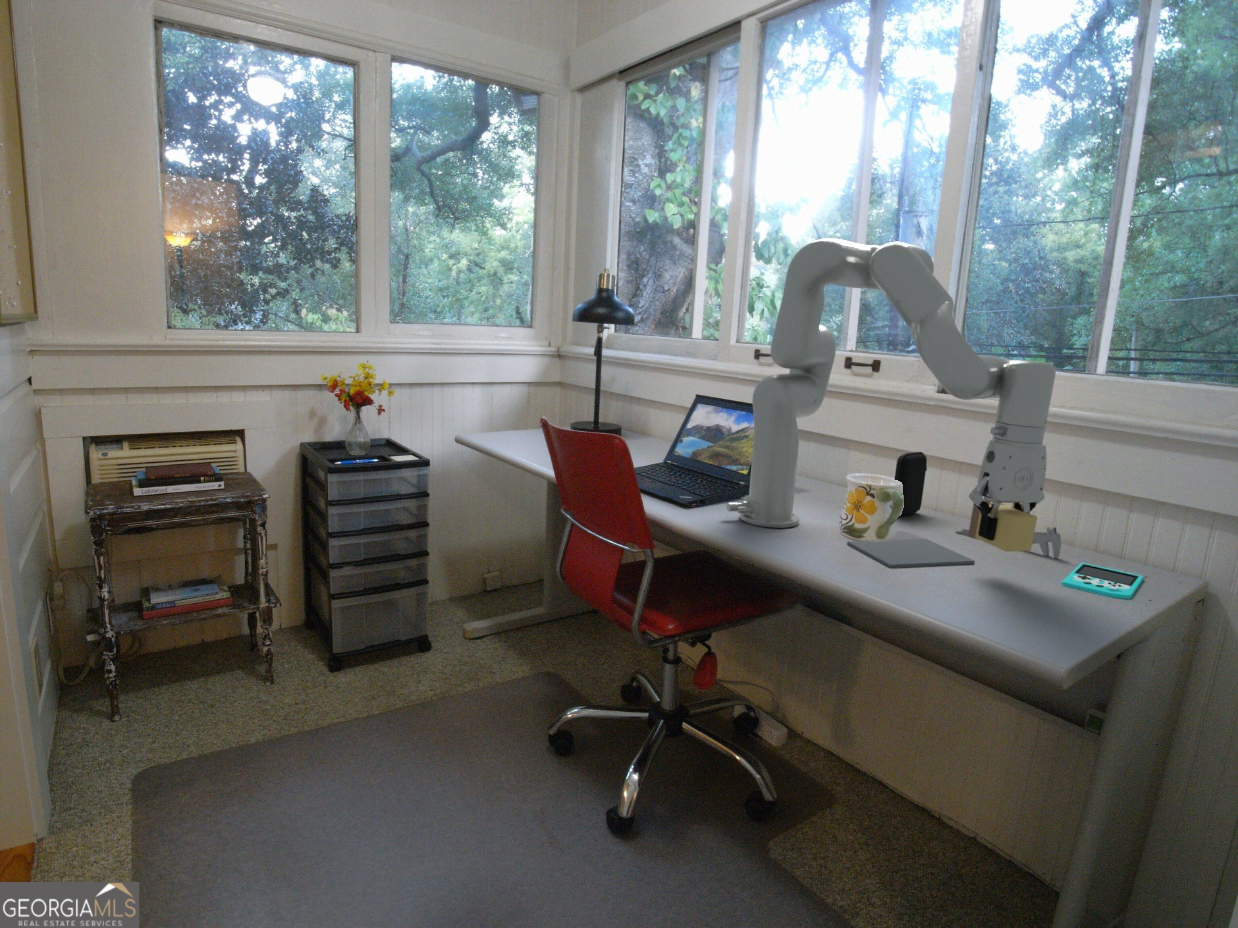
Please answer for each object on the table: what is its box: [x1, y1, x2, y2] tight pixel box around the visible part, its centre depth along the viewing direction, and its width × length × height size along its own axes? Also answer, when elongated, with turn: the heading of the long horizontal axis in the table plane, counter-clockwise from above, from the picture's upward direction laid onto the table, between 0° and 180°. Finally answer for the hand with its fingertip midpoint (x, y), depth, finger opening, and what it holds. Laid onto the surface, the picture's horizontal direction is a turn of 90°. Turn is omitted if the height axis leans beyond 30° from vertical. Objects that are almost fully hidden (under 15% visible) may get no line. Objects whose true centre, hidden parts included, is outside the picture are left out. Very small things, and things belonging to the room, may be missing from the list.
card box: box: [968, 501, 1038, 553], centre depth 129 cm, size 5×9×6 cm, turn 15°
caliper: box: [955, 526, 1062, 560], centre depth 151 cm, size 20×1×6 cm, turn 38°
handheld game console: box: [1061, 562, 1144, 600], centre depth 131 cm, size 10×16×1 cm, turn 138°
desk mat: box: [846, 538, 976, 569], centre depth 142 cm, size 18×14×1 cm
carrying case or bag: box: [894, 451, 928, 517], centre depth 171 cm, size 11×3×15 cm, turn 126°
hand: (999, 536), depth 129 cm, fingers closed on card box, 4 cm apart
